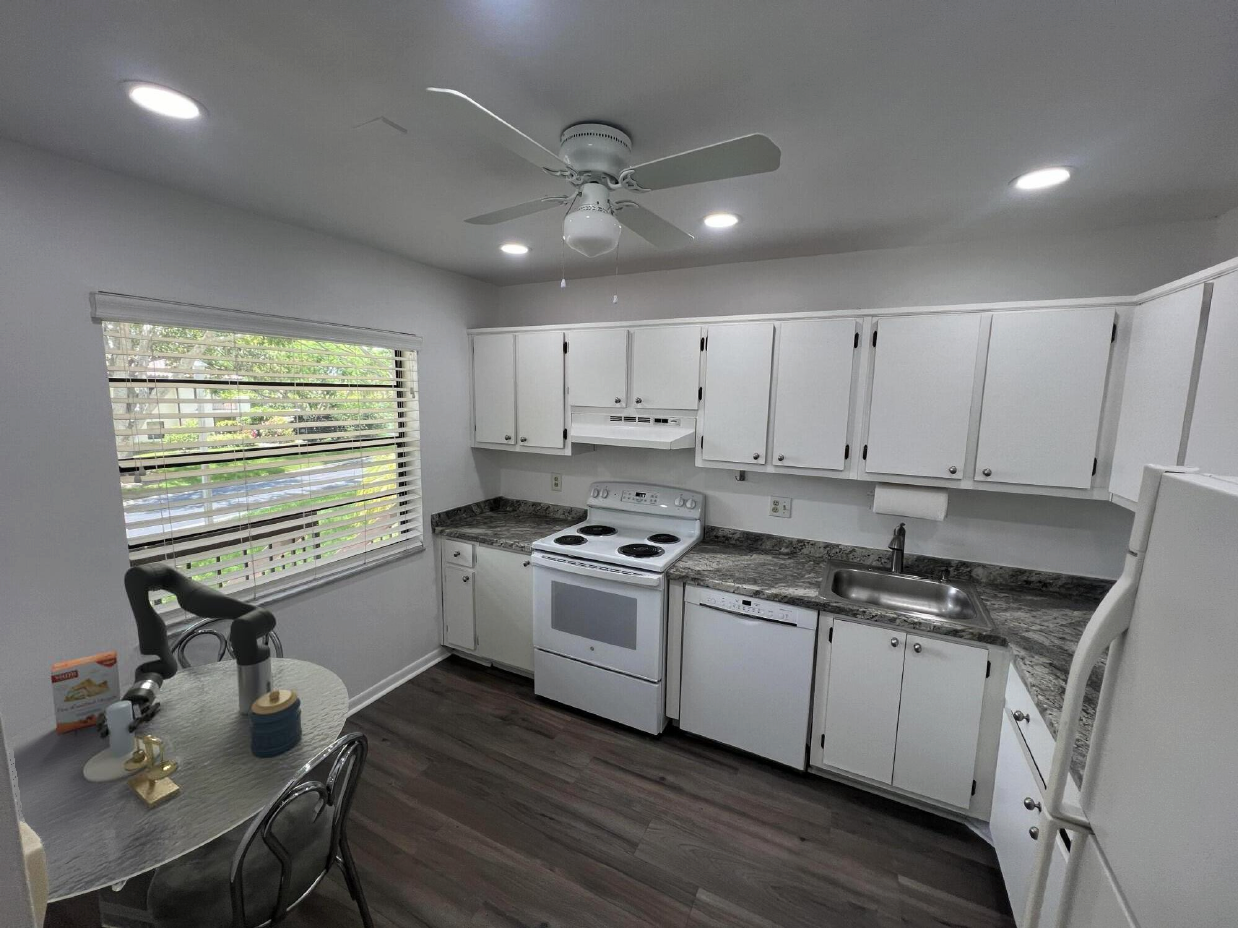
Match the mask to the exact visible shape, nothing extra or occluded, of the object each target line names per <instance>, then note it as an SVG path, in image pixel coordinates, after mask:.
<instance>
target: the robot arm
mask: <svg viewBox="0 0 1238 928" xmlns="http://www.w3.org/2000/svg"><path fill="white" fill-rule="evenodd" d="M123 583H124V588H125V592H126V595H127V598H128V601H129V606H130V608H131V611H132V613H133V616H134V620H135V623H136V629H137V635H138V644H139V645H138V647H139V653H140V655H142V656H157V657H158V658H159V659H156V660H150V661H147V662H143V663H141V664H140V665H137V667H136V668H135V671H134V682H133V684H132V685H131V686H130V687H129V689H128V690H127V691H126V692H125V694H124V695H123V696H122V700H121V701H131V705H132V715H133V721H132V723H131V724H130V726H129V733H133V732H134V733H135V731H137V730H138V729H139V727H140V725H142V724H143V723H150V722H151V721H152V720H153V719H154V718H155V716H157V715H158V714H159V712H161V711H162V708H161V707H162V705H161V701H157V702H155V700H156V698H157V696H158V692H159V691H160V689H161V688H162V685H163V683H164V681H166V680H169V679H172V678H173V677H175V675H176V674H177V672H178V668H179V666H178V662H177V660H176V658H175V657H174V654H173V653H172V650H171V648H170V645H169V638H168V629H167V625H166V622H165V621H164V619H163V618H162V616H161V615H160V614H159V613H158V612H157V611H156V610H155V608H154V607H153V605H152V604H151V601H150V595H149V593H150V592H153V591H157V590H158V591H159V590H161V591H165V592H167V593H170V594H172V595H174V596H176V600H177V603H178V605H179V607H180V608H181V609H182V610H184V611H186V612H188V613H190V614H192V615H194V616H197V617H199V618H203V619H209V620H210V619H211V620H212V619H214V620H231V621H232V623H230V627H229V628H230V629H229V630H230V631H229V633H230V641H231V648H232V653H233V656H234V658H235V662H236V672H237V673H236V675H237V676H236V677H237V691H238V706H239V712H240V714H244V715H249V713H250V711H251V710H252V705H253V703H254V702H255V701H256V700H257V699H259V698H260V697H262V696H263V695H265V694H267V693H269V692H271V691H273V690H275V687H274V673H273V672H272V656H271V655H272V653H271V647H270V646H268V645H266V644H262V643H261V644H258V639H260V638H262V637H264V636H266V635H267V634H270V633H271V632H272V631H273V630H275V627H276V626H277V619H276V617H275V615H274V614H273V613H272V612H271V611H270V610H268V609H265V608H264V607H260V606H257V605H254V604H251V603H248V602H245V601H242V600H240V599H237V598H235V597H233V596H230V595H228V594H225V593H223V592H221V591H220V590H217V589H215V588H213V587H212V586H211V587H210V586H208V585H206V584H203V583H202V582H199V581H197V580H194V579H193V578H191V577H188V576H187V575H184V574H183V573H182V572H180V571H178V570H177V569H175V568H174V567H172V566H171V565H169V564H166V563H162V562H154V563H148V564H140V565H136V566H135V565H134V566H133V567H130V568H129V569H127V571H126V572H125V574H124V577H123ZM121 701H120V702H121ZM154 702H155V703H154ZM153 703H154V704H153ZM96 731H97V733H99V736H100V738H101V739H102V740H105V739H107V738H108V737H109V732H108V723H107V715H104V713H101V714H99V715H98V719H97V723H96Z"/></svg>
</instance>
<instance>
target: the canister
mask: <svg viewBox="0 0 1238 928" xmlns="http://www.w3.org/2000/svg"><path fill="white" fill-rule="evenodd" d="M301 702H302V701H301V699H300V698H299V697H298V694H297V693H296V692H295V691H294V690H289V689H274V690H273V691H271V692H269V693H267V694H265V695H263V696H262V697H260V698H259V699H257V700H256V701H255V702H254V703H253V705H252V710H251V711H250V713H249V714H248V719H249V721H250V722H249V724H248V726H249V727H248V729H249V733H250V735H249V736H250V751H251V753H252V755H253V756H254V757H256V758H260V759H268V758H274V757H277V756H280V755H284V754H286V753H287V752H289V751H290V750H292V749H294V748H295V747H296V746H297V745H298V744H299V743H300V741H301V739H302V735H303V728H302V716H301V715H302V710H301V708H300V706H301Z"/></svg>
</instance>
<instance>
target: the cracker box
mask: <svg viewBox="0 0 1238 928" xmlns="http://www.w3.org/2000/svg"><path fill="white" fill-rule="evenodd" d="M50 678H51V679H50V680H51V687H52V697H53V698H52V699H53V706H54V716H55V724H56V732H57V735H60V734H63V733H66V732H67V733H68V732H71V731H73V730H74V731H75V730H77V729H81V728H85V727H88V726H91V725H96V724H97V719H98V715H99V714H101V713H104V715H107V714H106V709H107V708H108V707H109V706H110V705H112V704H114V703H117V702H120V701H121V700H122V698H123V696H122V686H121V685H122V684H121V676H120V666H119V655H118V650H112V651H108V652H103V653H97V654H94V655H88V656H85V657H81V658H75V659H69V660H66V661H61V662H58V663H53V664H52V666H51V670H50Z"/></svg>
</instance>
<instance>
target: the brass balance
mask: <svg viewBox="0 0 1238 928" xmlns="http://www.w3.org/2000/svg"><path fill="white" fill-rule="evenodd" d="M134 735H135V738H136V744H137V751H135V752H134V753H133V754H132V755H133V757H132V758H130V759H129V760H127V761H126V762H125V764H124V769H125V770H126V771H134V770H138V769H141V768H143V767H145V766H146V767H145V768H147V769H144V768H143V769H144V770H143V771H141V772H138V773H136V774H133V775H132V776H129V777H128V778H126V785H127V786H128V787H129V788H130V790H131V791H132V792H133V793H135V794H136V796H137V797H138V798H139V799H140V800H141V801H142V802H143V803H144V804H145V805H146V806H147V807H148V808H149V809H150V810H151V809H153V808H155V807H156V806H158V805H160V804H161V803H164V802H166V801H167V800H169V799H171V798H173V797H175V796H177V795H178V794H180V787H179V786H178V785H177V784H175V782H174V781H172V779H170V777H169V776H172V775H173V774H174V773H175V772H176V771H177V770H178V769H179V761H177V760H175V759H172V760H171V759H170V760H165V761H164V756H163V755H164V754H163V750H162V744H164V742H163V741H162V740H161V741H159V740H156V739H154V737H155V736H154V735H152V734H147V735H146V736H145V735H143V734H140V733H136V734H134ZM139 739H140V740H143V741H142V742H143V744H145V750H146V752H145V750H144V749H140V748H139ZM152 744H155V745H158V746H159V750H160V756H159V759H160V762H159V763H157V764H155V761H154V758H155V756H154V753H153V745H152ZM141 770H142V769H141Z"/></svg>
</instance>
